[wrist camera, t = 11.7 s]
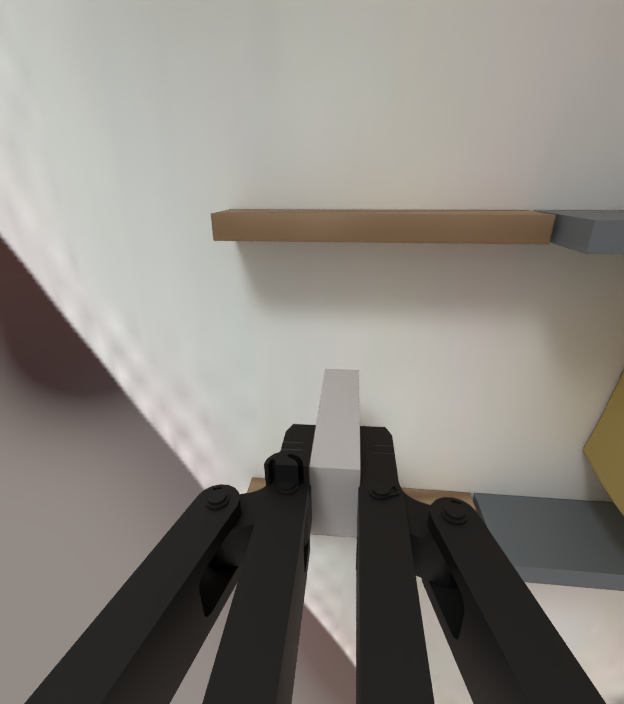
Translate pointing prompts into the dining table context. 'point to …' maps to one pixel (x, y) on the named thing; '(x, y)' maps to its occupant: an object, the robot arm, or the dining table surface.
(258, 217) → the lane rails
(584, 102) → the dining table surface
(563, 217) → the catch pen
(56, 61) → the dining table surface
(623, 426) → the cheese
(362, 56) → the dining table surface
